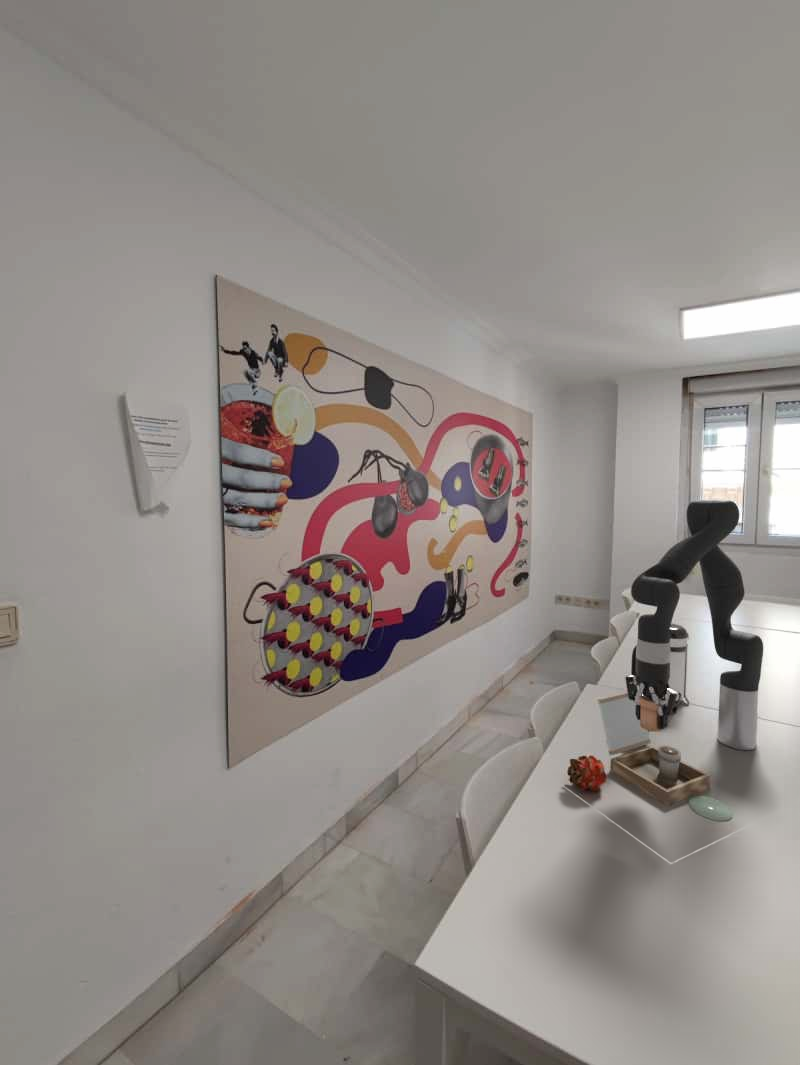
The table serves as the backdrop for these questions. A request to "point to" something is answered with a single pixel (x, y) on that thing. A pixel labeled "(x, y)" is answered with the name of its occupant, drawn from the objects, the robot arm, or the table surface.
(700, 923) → the table surface
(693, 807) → the saucer
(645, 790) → the box
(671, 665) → the coffee press
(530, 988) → the table surface
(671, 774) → the grey pot
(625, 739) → the lid
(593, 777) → the dragon fruit
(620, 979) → the table surface
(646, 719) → the terracotta pot
